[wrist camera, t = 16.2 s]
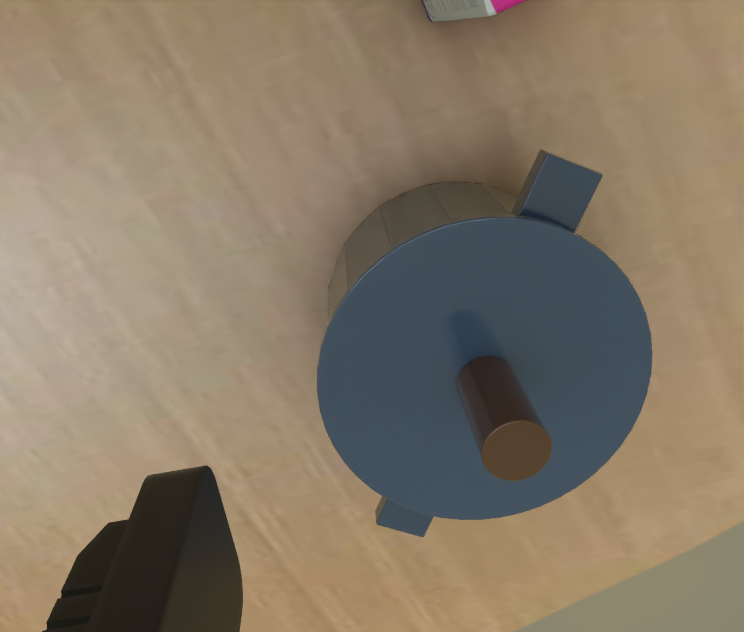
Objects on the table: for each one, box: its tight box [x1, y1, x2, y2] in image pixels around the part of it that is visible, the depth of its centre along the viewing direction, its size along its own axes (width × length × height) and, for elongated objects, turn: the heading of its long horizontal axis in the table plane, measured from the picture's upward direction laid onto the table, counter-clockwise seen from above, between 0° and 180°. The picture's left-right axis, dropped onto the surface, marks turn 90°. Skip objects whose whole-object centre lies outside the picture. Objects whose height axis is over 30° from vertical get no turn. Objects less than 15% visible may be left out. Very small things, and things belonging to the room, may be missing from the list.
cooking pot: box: [328, 149, 602, 537], centre depth 32 cm, size 13×18×8 cm
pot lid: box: [317, 214, 652, 520], centre depth 26 cm, size 14×14×6 cm
